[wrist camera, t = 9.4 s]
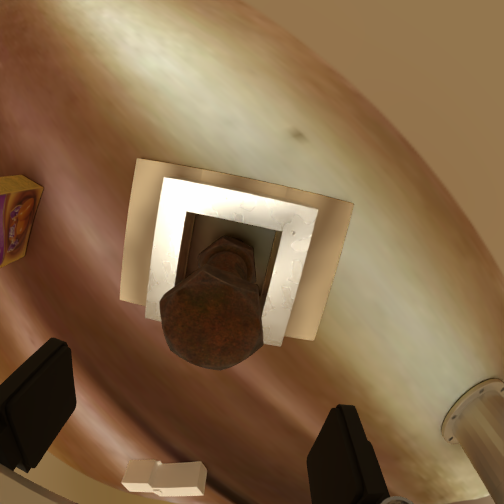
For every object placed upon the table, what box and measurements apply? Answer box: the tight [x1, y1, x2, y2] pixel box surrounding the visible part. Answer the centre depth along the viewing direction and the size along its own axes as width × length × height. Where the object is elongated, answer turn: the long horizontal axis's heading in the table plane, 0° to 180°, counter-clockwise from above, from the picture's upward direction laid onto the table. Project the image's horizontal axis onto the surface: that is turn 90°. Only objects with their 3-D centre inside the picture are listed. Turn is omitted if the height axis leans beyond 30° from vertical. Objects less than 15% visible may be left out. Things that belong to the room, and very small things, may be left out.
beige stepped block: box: [121, 459, 207, 496], centre depth 36 cm, size 15×11×6 cm
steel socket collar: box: [145, 176, 318, 347], centre depth 27 cm, size 12×12×4 cm
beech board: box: [120, 158, 354, 341], centre depth 30 cm, size 20×14×1 cm
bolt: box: [159, 236, 264, 370], centre depth 23 cm, size 6×5×15 cm
